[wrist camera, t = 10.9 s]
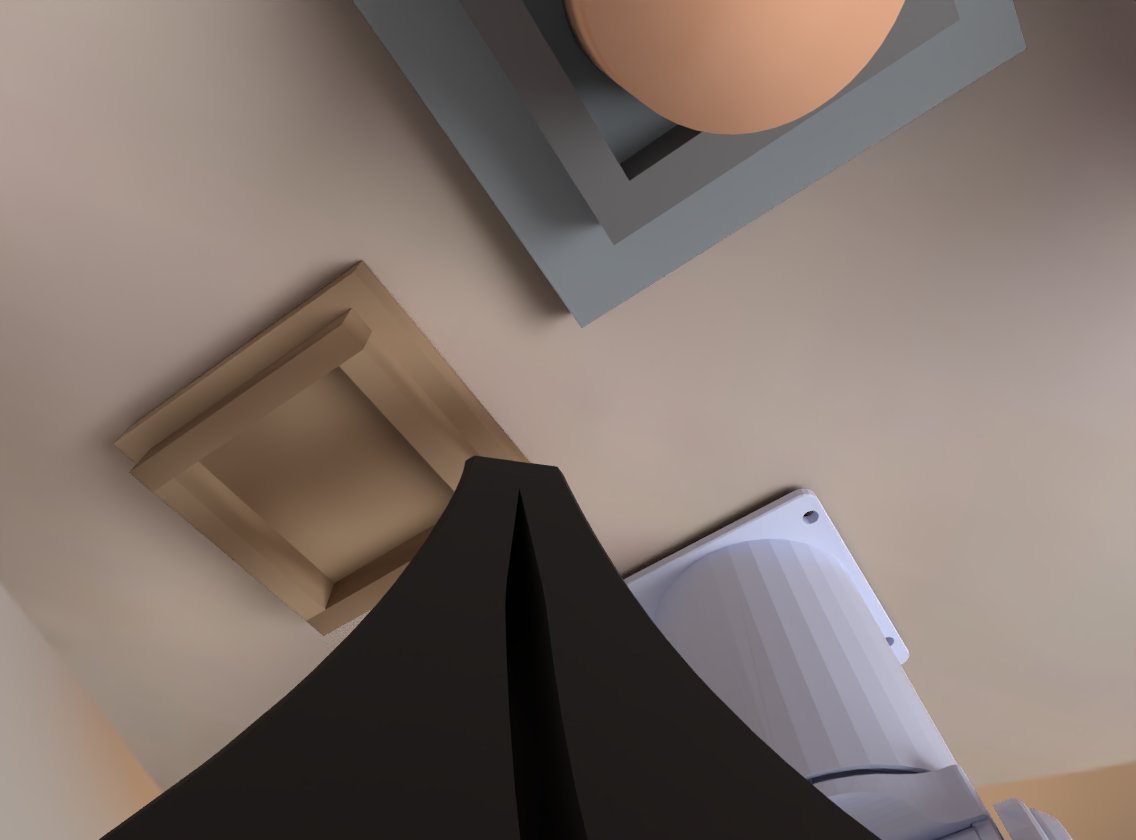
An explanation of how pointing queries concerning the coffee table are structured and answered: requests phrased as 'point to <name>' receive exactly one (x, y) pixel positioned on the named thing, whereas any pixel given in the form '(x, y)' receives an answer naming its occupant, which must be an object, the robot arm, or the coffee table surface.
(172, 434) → the holder
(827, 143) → the socket board
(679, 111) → the peg
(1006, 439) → the coffee table surface
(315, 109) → the coffee table surface
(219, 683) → the coffee table surface
